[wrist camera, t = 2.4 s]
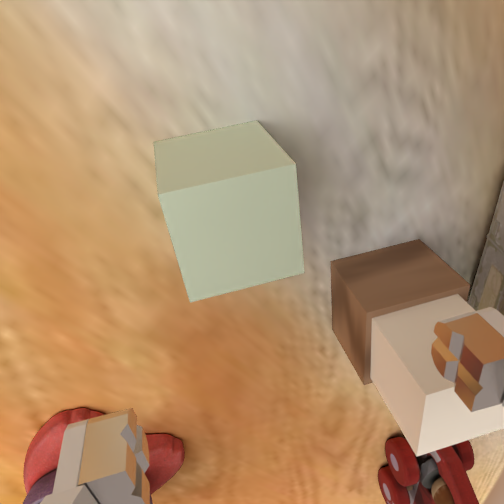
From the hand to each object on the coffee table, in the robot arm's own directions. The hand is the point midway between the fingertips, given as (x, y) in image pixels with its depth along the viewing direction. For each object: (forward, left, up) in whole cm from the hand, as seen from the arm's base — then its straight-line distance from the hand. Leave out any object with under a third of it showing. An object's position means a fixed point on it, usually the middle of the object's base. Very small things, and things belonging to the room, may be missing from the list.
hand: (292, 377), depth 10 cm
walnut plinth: (+9, +9, -13) cm, 18 cm away
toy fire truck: (+33, +14, -13) cm, 38 cm away
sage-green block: (0, 0, -13) cm, 13 cm away
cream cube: (+9, +9, -8) cm, 15 cm away
